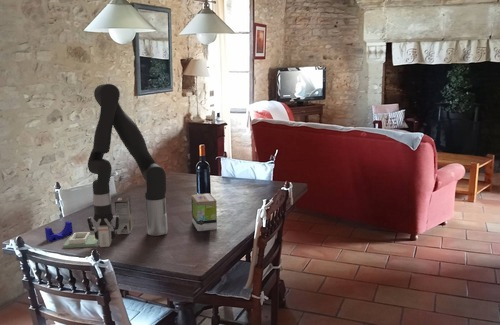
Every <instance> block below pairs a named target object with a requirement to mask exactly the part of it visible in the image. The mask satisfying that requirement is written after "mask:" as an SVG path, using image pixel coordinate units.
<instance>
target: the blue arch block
mask: <svg viewBox="0 0 500 325" xmlns="http://www.w3.org/2000/svg"><path fill="white" fill-rule="evenodd" d="M64 223H65V224H64V227H63V229H62V230H61V231H60V232H59V233H54V232H53V229H52V227H49V226H48V227H44V232H45V239H46V241H48V242H50V243H52V242H56V241H58V240H59V241H60V240H62V239H64V238H65V237H66V236H67V237H68V236H71V235H73V234H74V233H73V223H72V221H69V220H67V221H65V222H64Z"/></svg>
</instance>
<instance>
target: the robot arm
mask: <svg viewBox="0 0 500 325" xmlns="http://www.w3.org/2000/svg"><path fill="white" fill-rule="evenodd" d="M93 96H94V100H95V101H96V102H97V104H98V105H99V106H100V113H99V117H98V118H99V119H98V120H97V124H96V127H95V131H94V135H93V146H92V149H91V152H90V155H89V158H88V160H87V169H88V171H89V172H90V173H92V174H94V175H97V179H95V180H93V182H92V196H93V197H92V200H93V201H92V203H93V216H88V218H87V219H86V220H87V224H88V229H89V232H94V233H93V234H94V235H95V239H96V240H98V239H99V230H98V227H99V226H100V225H108V227H109V228H110V231H111V240H114V238H115V237H116V231H117V229H118V228H119V218H120V216H119V215H117V216H116V215H114V214H113V211H112V210H113V209H112V207H113V206H112V196H111V190H110V188H111V187H110V180H111V175H112V171H113V170H112V165H111V162H110V161H109V160H108V159H106V158H104V155H105V154H108V153H109V152H110V151H111V150H110V149H111V142H112V131H113V128H114V129H115V131H116V133H117V135H118V137H119V139H120V140H121V142H122V143H123V145H124V147H125V148H126V150H127V151H128V152H129V154H130V155H131V157H132V158H133V159H134V161H135V162H136V165H137V167H138V168H139V171H140V173H141V176H142V178H143V179H144V180H145V181H146V182H145V183H146V192H145V194H144V198H145V212H146V231H147V235H148V236H155V237H156V236H157V237H158V236H163V235H167V234H168V215H167V214H168V213H167V205H166V201H167V200H166V192H167V176H166V171H165V169H164V168H163V167H162V166H161V165H159V164H158V163H157V162H156V161H155V159H154V157H152V155H151V154H150V152H149V149H148V146H147V143H146V140H145V138H144V136H143V134H142V132H141V130H140V129H139V127H138V125H137V124H136V122H134V120H133V119H132V118H131V117H130V116H129V115H128V114H127V113H126V112H125V111H124V109H123V108H122V107H121V105H120V103H119V100H120V97H121V93H120V89H119V88H118V86H117V85H115V84H113V83H103V84H99V85H97V86H96V87H95V89H94V91H93ZM112 220H114V222H115V226H114V224H113V222H112ZM93 222H96V225H95V226H94V224H93Z"/></svg>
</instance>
